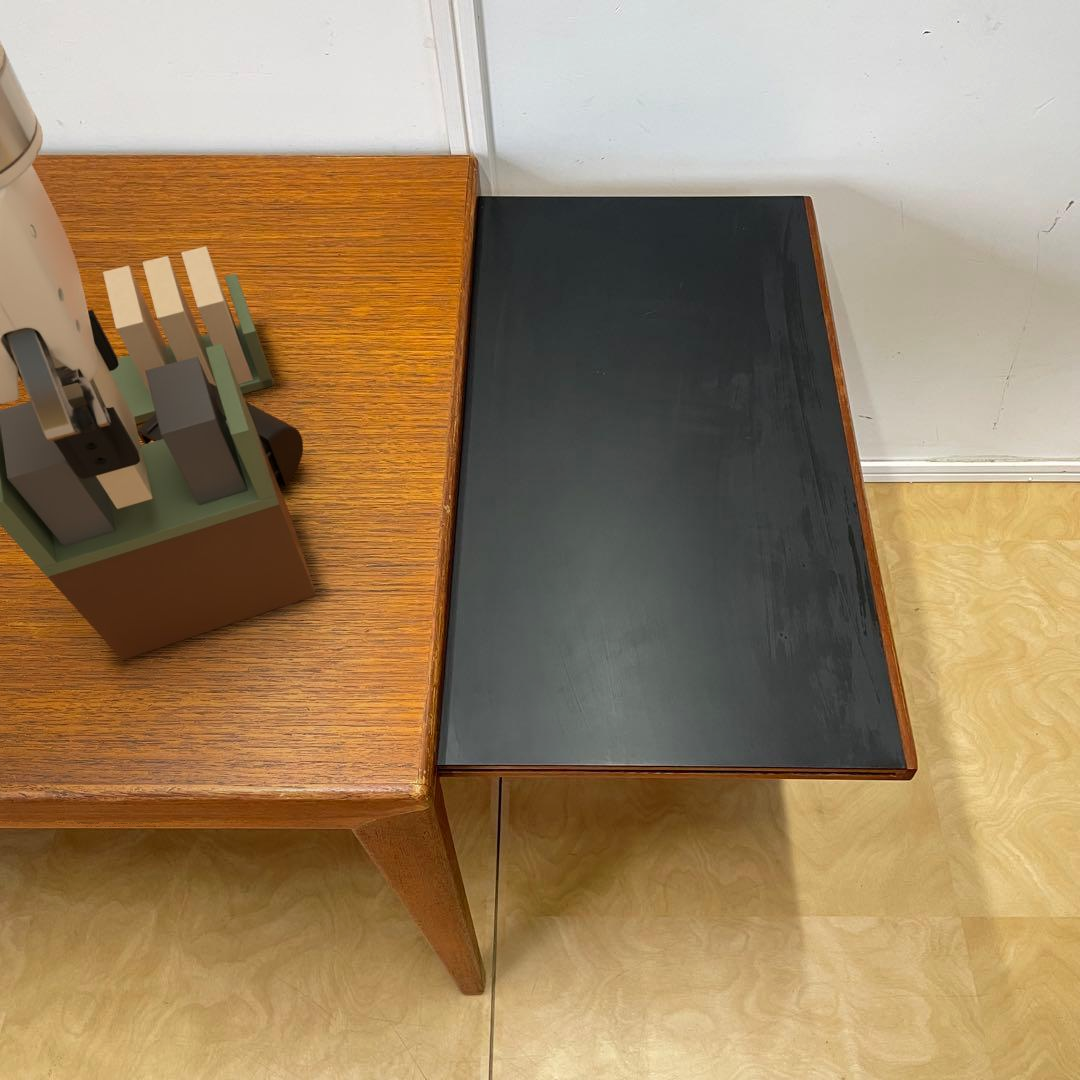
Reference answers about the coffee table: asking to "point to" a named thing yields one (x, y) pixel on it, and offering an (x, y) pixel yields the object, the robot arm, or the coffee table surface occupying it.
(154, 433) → the end cap
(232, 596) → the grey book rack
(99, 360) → the cream book
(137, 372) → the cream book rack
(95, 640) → the coffee table surface
